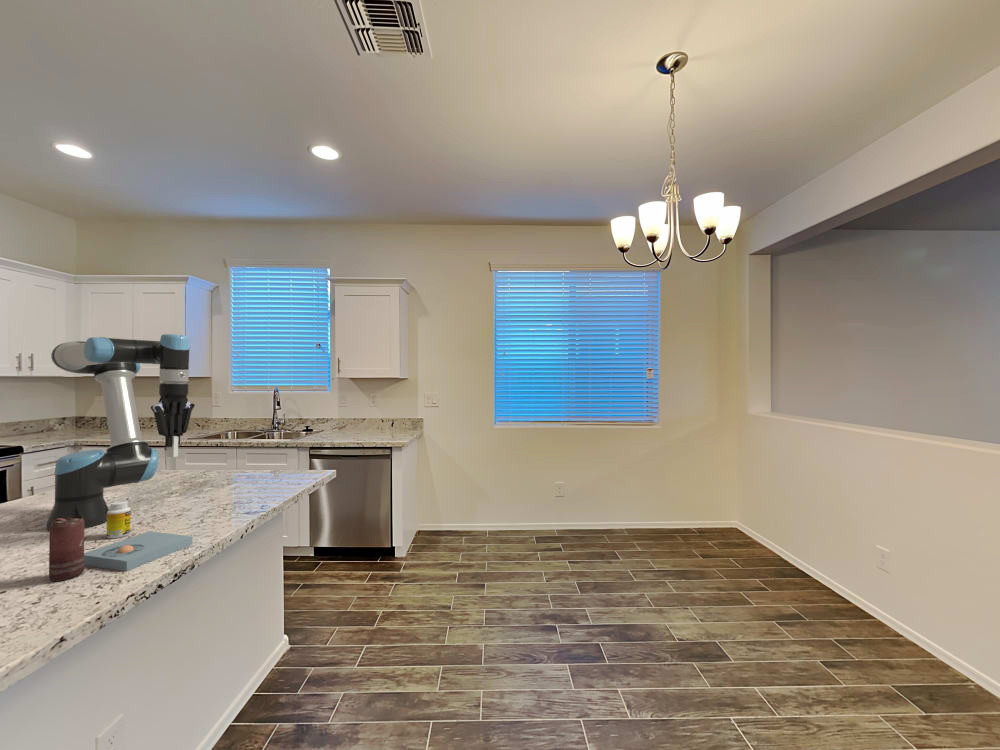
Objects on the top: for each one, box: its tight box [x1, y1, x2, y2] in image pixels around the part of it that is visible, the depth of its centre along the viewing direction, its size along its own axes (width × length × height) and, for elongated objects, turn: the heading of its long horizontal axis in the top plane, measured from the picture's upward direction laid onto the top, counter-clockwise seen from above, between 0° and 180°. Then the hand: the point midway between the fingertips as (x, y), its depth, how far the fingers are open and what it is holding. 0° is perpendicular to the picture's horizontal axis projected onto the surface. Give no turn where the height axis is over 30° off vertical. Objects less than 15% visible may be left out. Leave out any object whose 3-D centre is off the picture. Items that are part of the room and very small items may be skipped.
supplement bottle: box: [106, 500, 132, 539], centre depth 136 cm, size 6×6×10 cm
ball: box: [117, 545, 134, 554], centre depth 119 cm, size 4×4×4 cm
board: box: [84, 531, 193, 572], centre depth 122 cm, size 16×18×2 cm
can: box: [48, 516, 85, 582], centre depth 108 cm, size 6×6×14 cm
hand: (172, 456), depth 142 cm, fingers closed
